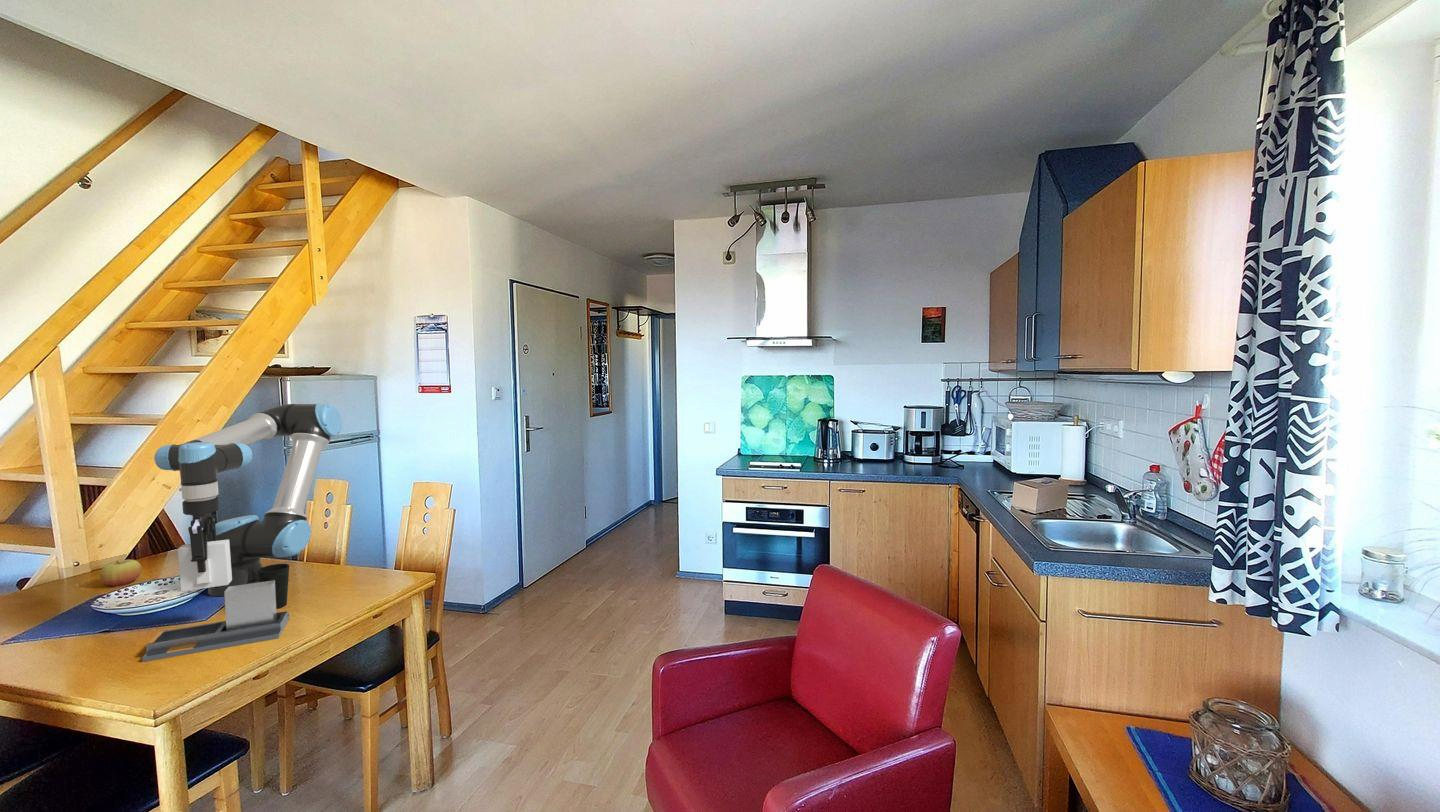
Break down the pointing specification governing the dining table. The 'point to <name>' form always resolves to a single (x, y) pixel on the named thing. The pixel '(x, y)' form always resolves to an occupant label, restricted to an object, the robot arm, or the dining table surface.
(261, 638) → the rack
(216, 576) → the block
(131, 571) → the apple
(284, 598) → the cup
